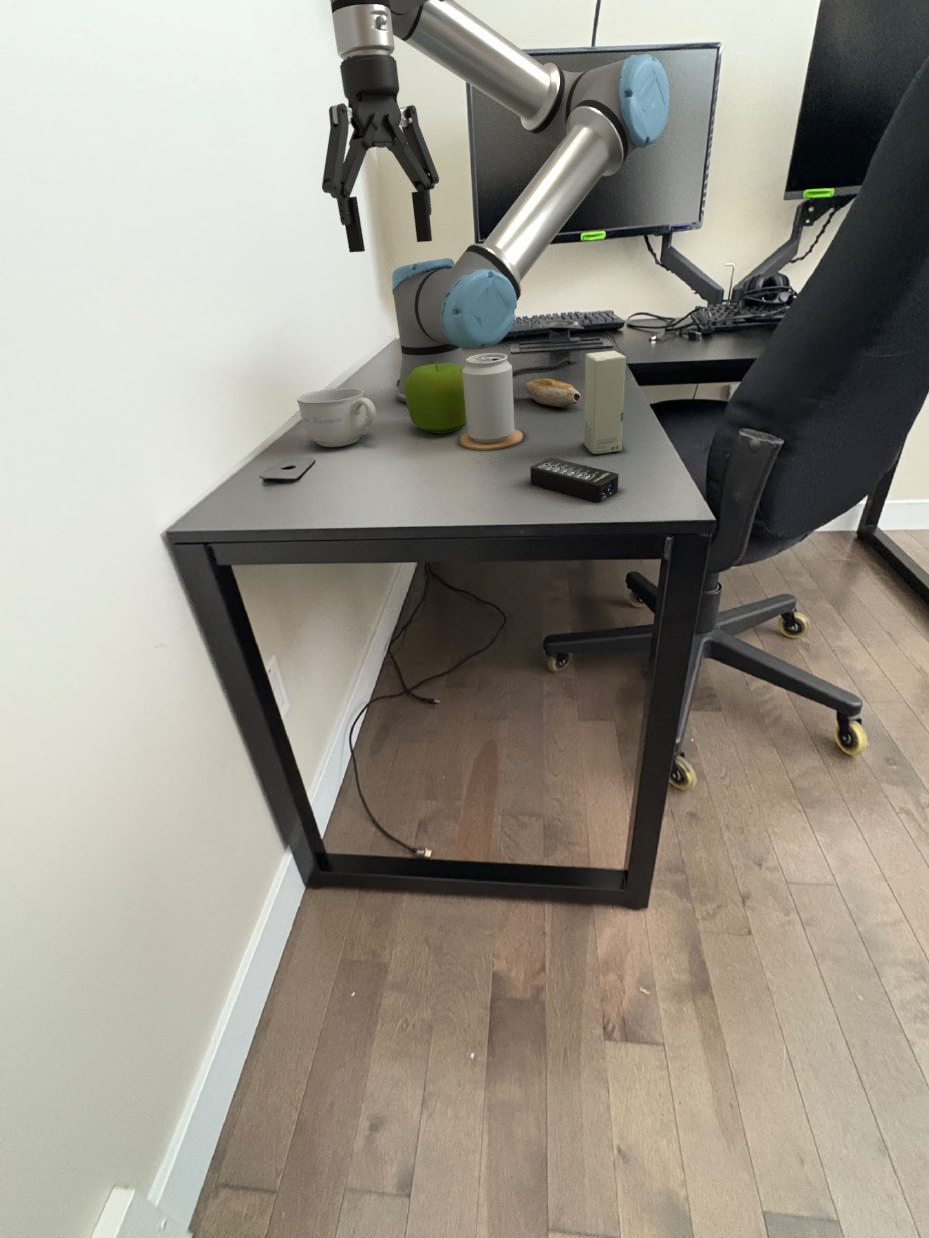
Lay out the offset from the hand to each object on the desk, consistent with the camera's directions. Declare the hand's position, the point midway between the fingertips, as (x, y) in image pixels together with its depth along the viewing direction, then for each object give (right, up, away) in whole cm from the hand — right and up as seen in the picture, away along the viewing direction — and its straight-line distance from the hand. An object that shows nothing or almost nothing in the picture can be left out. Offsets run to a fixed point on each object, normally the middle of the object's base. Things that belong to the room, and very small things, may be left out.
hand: (392, 247), depth 91 cm
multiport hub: (+25, -40, -14) cm, 49 cm away
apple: (+7, -24, +11) cm, 28 cm away
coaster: (+15, -28, +4) cm, 32 cm away
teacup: (-9, -27, +9) cm, 30 cm away
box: (+31, -32, -3) cm, 45 cm away
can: (+15, -28, +4) cm, 32 cm away
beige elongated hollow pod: (+27, -18, +18) cm, 37 cm away
